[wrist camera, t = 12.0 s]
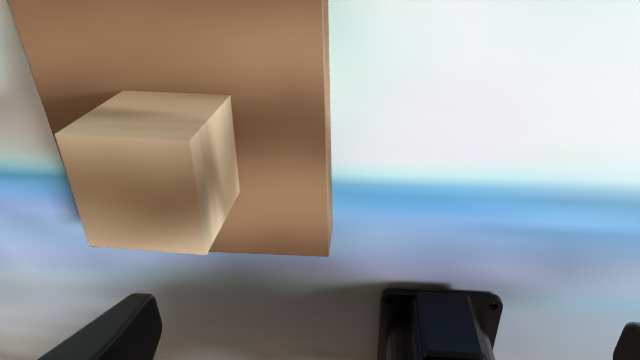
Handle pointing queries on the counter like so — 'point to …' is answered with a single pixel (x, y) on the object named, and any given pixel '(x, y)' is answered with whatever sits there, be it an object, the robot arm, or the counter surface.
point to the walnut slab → (208, 78)
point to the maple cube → (153, 170)
